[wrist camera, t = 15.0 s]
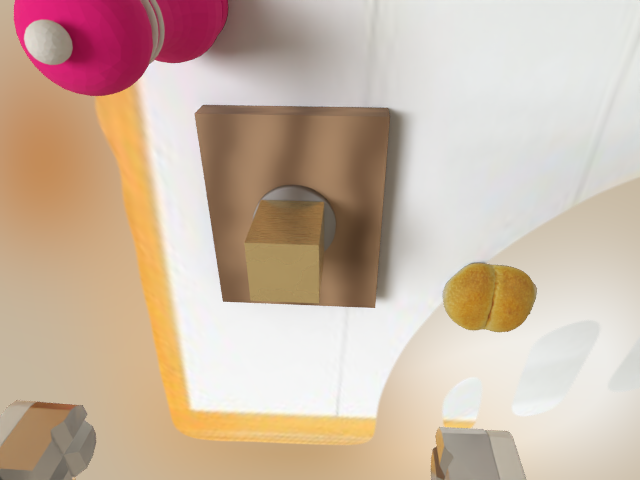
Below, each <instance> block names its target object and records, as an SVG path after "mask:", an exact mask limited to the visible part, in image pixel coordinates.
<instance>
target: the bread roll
mask: <svg viewBox="0 0 640 480" xmlns="http://www.w3.org/2000/svg"><path fill="white" fill-rule="evenodd" d="M536 293H537V288H536V286H535V284H534V283H533V282H532V280H531V279H530V277H529V276H528V275H527V274H526V273H524V272H523V271H521V270H519V269H517V268H513V267H509V266H502V265H490V264H485V263H473V264H469V265H467V266H465V267H464V268H463V269H461V270H460V271H459V272H458V273H457V274H455V275H454V276H453V277H452V278H451V279H450V280H449V281H448V282H447V283H446V285H445V287H444V290H443V302H444V307H445V310H446V312H447V314H448V315H449V317H450V318H451V319H452V320H453V321H454V322H455V323H457V324H458V325H460V326H461V327H463V328H465V329H468V330H480V329H487V330H490V331H494V332H506V331H507V332H508V331H511V330H513V329H515V328H517V327H518V326H520V325H521V324H522V323H523V322H524V321H525V320H526V318H527V316H528V315H529V314H530V311H531V310H532V307H533V304H534V302H535V299H536Z"/></svg>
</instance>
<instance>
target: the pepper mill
mask: <svg viewBox="0 0 640 480" xmlns="http://www.w3.org/2000/svg"><path fill="white" fill-rule="evenodd" d="M227 14H228V0H15V4H14V22H15V28H16V33H17V36H18V38H19V40H20V43H21V46H22V47H23V49H24V51H25V53H26V54H27V56H28V57H29V59H30V60H31V61H32V63H33V64H34V65H35V67H37V69H39V71H41V73H43V75H45V76H46V77H47V78H48V79H50V80H51V81H52V82H54V83H56V84H57V85H59V86H61V87H62V88H64V89H66V90H69V91H72V92H75V93H79V94H84V95H90V96H104V95H110V94H114V93H117V92H120V91H122V90H124V89H126V88H128V87H130V86H131V85H133V84H134V83H135V82H136V81H137V80H138V79H139V78H140V77H141V76H142V75H143V73H144V72H145V70H146V69H147V67H148V65H149V64H150V63H151V62H152V61H153V60H157V61H161V62H167V63H181V62H185V61H189V60H192V59H195V58H197V57H199V56H201V55H202V54H204V53H205V52H206V51H207V50H208V49H209V48H210V47H211V46H212V44H213V43H214V42H215V40H216V38H217V35H218V34H219V33H220V32H221V30H222V29H223V27H224V25H225V22H226V19H227Z"/></svg>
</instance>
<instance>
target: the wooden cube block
mask: <svg viewBox="0 0 640 480" xmlns="http://www.w3.org/2000/svg"><path fill="white" fill-rule="evenodd" d="M244 245H245V254H246V263H247V273H248V282H249V291H250V300H251V301H272V302H296V303H319V300H320V290H321V281H322V272H323V263H324V202H314V201H279V200H261V201H260V203H259V206H258V209H257V211H256V214H255V216H254V219H253V221H252V224H251V227H250V229H249V232H248V234H247V237H246V239H245V242H244Z"/></svg>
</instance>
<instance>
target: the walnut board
mask: <svg viewBox="0 0 640 480" xmlns="http://www.w3.org/2000/svg"><path fill="white" fill-rule="evenodd" d="M195 120H196V126H197V133H198V139H199V146H200V153H201V159H202V166H203V173H204V179H205V186H206V192H207V199H208V206H209V212H210V219H211V225H212V232H213V239H214V245H215V252H216V259H217V265H218V272H219V278H220V285H221V292H222V298H223V302H247V303H271V304H295V305H319V306H343V307H367V308H375V302H376V289H377V276H378V263H379V250H380V238H381V225H382V212H383V199H384V187H385V174H386V161H387V148H388V136H389V123H390V115H389V110H388V108H362V107H297V106H233V105H203V106H202V107H201V108H200V109H199V110H198V111H197V112H196V113H195ZM261 200H279V201H314V202H324V263H323V272H322V281H321V290H320V300H319V303H296V302H272V301H251V300H250V291H249V282H248V273H247V263H246V254H245V245H244V242H245V239H246V237H247V234H248V232H249V229H250V227H251V224H252V221H253V219H254V216H255V214H256V211H257V209H258V206H259V203H260V201H261Z"/></svg>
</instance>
